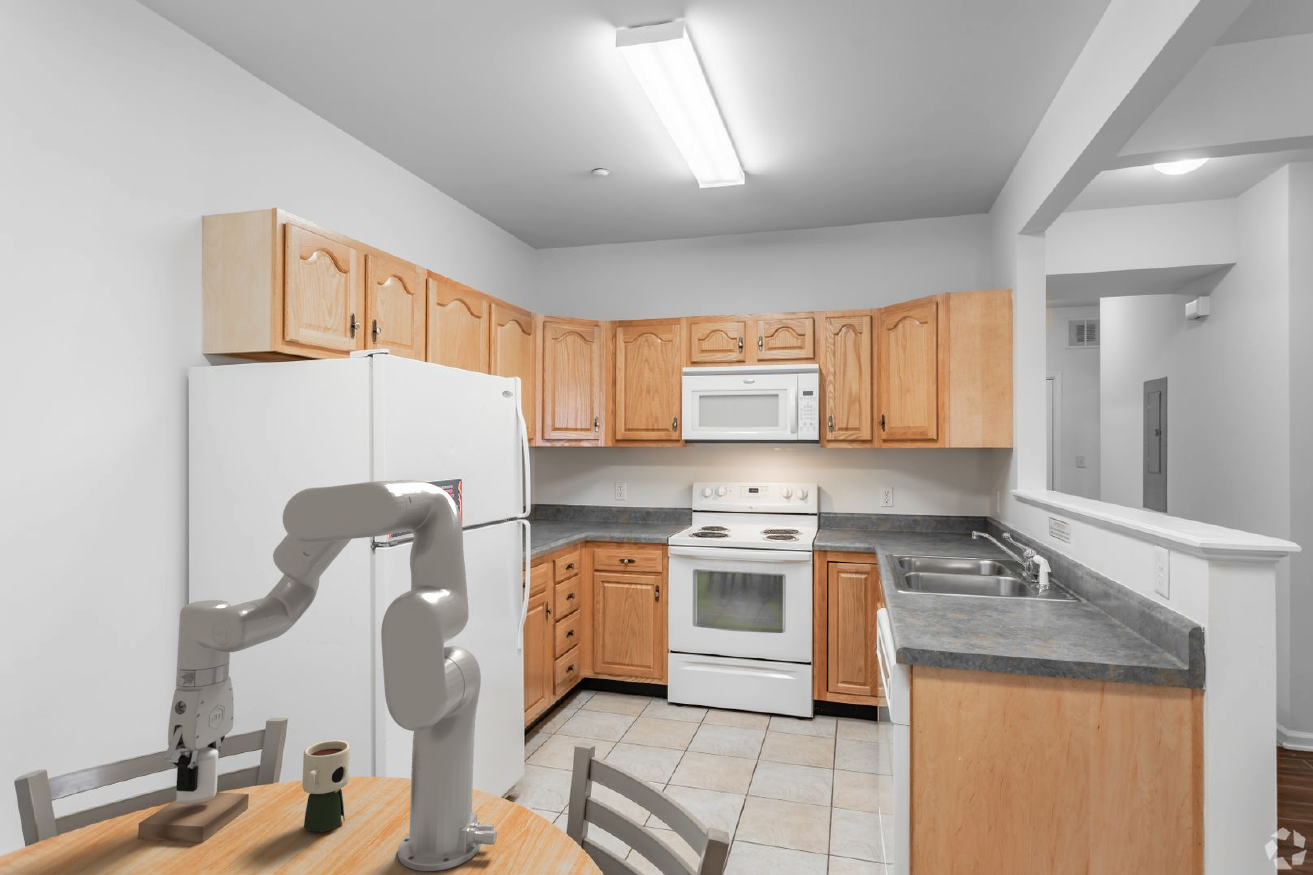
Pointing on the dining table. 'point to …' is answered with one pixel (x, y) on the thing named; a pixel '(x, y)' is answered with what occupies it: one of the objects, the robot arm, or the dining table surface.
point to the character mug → (325, 783)
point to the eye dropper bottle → (202, 778)
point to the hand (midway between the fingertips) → (197, 782)
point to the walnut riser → (193, 818)
